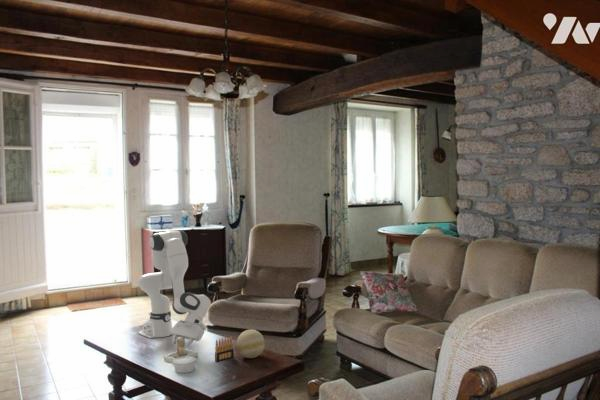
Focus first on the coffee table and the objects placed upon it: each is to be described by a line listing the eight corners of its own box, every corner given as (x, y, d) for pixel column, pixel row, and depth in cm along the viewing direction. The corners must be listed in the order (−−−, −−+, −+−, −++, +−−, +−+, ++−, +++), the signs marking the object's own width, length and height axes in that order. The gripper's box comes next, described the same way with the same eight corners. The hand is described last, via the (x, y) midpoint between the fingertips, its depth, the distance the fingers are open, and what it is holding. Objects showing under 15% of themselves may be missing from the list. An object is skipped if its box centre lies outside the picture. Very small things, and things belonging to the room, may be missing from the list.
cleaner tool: (174, 358, 274) (173, 340, 273) (183, 354, 280) (183, 336, 279) (178, 359, 272) (177, 341, 272) (187, 355, 278) (187, 337, 278)
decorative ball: (251, 364, 265) (250, 335, 264) (231, 358, 274) (230, 330, 274) (270, 356, 276) (270, 329, 276) (250, 351, 286) (250, 324, 285)
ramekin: (188, 364, 267) (188, 354, 267) (200, 369, 259) (200, 359, 259) (169, 370, 259) (168, 359, 259) (180, 375, 251) (180, 365, 251)
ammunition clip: (216, 362, 268) (216, 340, 268) (214, 362, 270) (214, 339, 269) (234, 358, 275) (233, 336, 274) (232, 357, 276) (231, 335, 276)
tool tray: (163, 360, 273) (163, 356, 272) (183, 352, 285) (183, 348, 285) (177, 364, 267) (177, 359, 267) (197, 356, 279) (197, 351, 279)
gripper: (176, 316, 287) (163, 338, 279) (203, 321, 275) (190, 345, 268) (182, 322, 290) (169, 344, 283) (208, 328, 279) (196, 350, 272)
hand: (179, 344), depth 275 cm, fingers open, 8 cm apart
